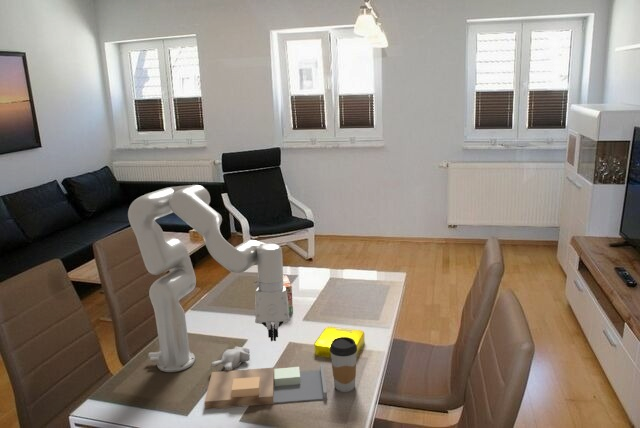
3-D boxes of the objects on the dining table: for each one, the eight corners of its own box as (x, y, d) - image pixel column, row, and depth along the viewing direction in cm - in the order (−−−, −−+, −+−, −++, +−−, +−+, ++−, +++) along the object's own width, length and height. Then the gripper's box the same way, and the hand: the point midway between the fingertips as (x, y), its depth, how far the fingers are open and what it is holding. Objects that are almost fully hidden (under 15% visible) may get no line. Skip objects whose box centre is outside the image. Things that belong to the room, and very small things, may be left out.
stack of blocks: (271, 295, 233) (269, 269, 230) (285, 293, 234) (283, 268, 231) (278, 315, 212) (276, 287, 209) (293, 313, 214) (291, 285, 211)
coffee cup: (356, 378, 165) (355, 335, 161) (359, 393, 157) (358, 348, 153) (330, 379, 165) (328, 336, 161) (332, 395, 157) (330, 350, 153)
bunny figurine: (256, 346, 180) (231, 362, 167) (256, 360, 181) (231, 377, 168) (233, 341, 184) (207, 357, 171) (233, 355, 185) (207, 372, 172)
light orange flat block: (232, 397, 154) (231, 390, 153) (234, 386, 159) (233, 378, 159) (259, 395, 154) (258, 387, 153) (260, 383, 160) (259, 376, 159)
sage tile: (274, 386, 162) (274, 379, 161) (274, 375, 168) (274, 368, 167) (300, 383, 163) (300, 376, 162) (299, 373, 168) (299, 366, 168)
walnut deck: (205, 409, 153) (204, 401, 152) (212, 379, 168) (211, 372, 168) (273, 403, 154) (272, 396, 153) (274, 374, 169) (273, 367, 169)
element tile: (365, 341, 189) (365, 329, 188) (354, 362, 175) (354, 349, 174) (326, 336, 194) (326, 324, 193) (313, 356, 180) (312, 343, 179)
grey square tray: (273, 403, 154) (272, 396, 153) (274, 374, 169) (273, 367, 169) (327, 399, 155) (326, 392, 154) (323, 370, 170) (322, 364, 170)
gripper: (245, 290, 153) (248, 346, 158) (295, 288, 154) (297, 344, 159) (247, 280, 161) (250, 334, 165) (295, 278, 161) (297, 332, 166)
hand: (273, 339), depth 162 cm, fingers closed
